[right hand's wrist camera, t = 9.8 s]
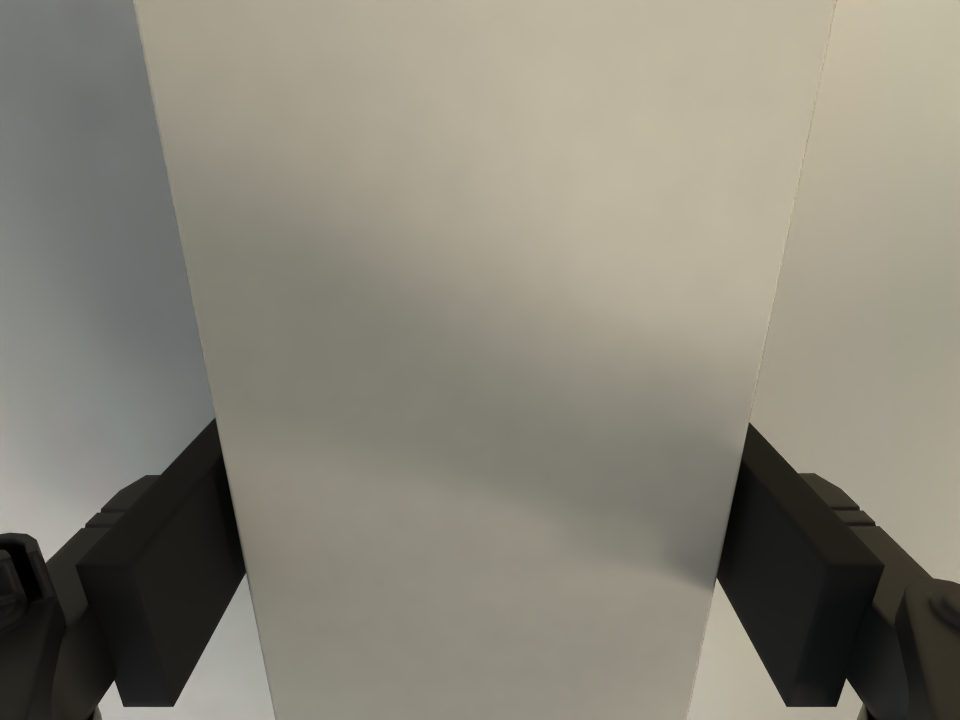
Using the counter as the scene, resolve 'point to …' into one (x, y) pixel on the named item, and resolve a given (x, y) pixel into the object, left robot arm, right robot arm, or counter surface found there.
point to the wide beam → (483, 328)
